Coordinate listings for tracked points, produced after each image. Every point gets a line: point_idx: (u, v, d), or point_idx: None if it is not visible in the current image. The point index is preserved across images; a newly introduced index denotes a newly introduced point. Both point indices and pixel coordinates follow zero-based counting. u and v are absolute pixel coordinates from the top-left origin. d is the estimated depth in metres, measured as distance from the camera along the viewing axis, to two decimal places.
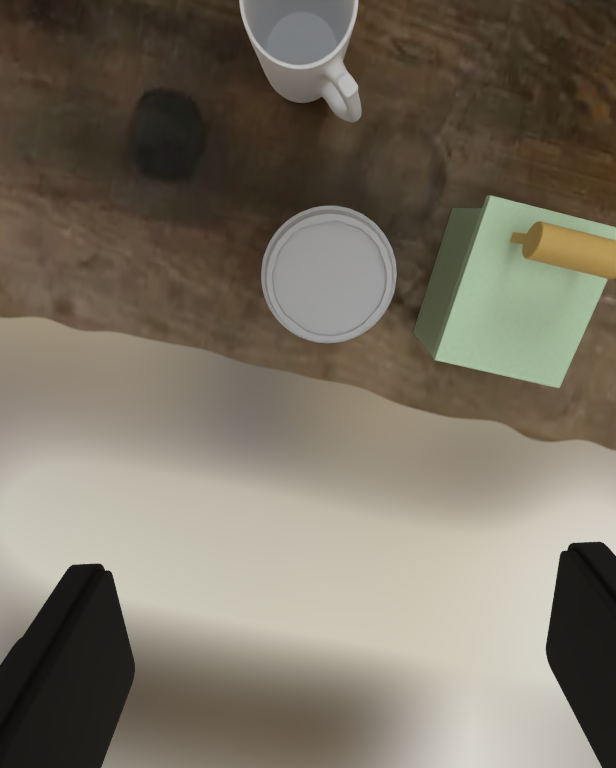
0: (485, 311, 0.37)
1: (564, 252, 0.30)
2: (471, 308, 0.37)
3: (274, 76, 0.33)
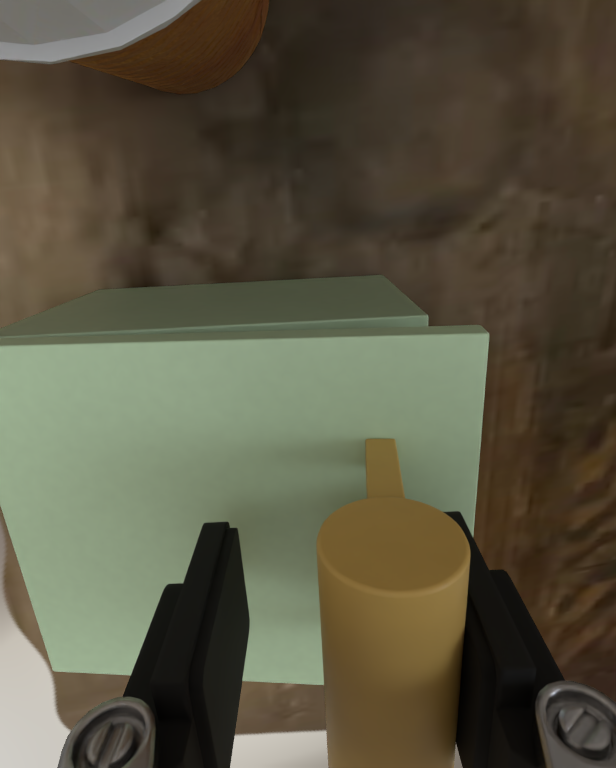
0: (152, 441, 0.12)
1: (375, 685, 0.07)
2: (141, 399, 0.11)
3: None
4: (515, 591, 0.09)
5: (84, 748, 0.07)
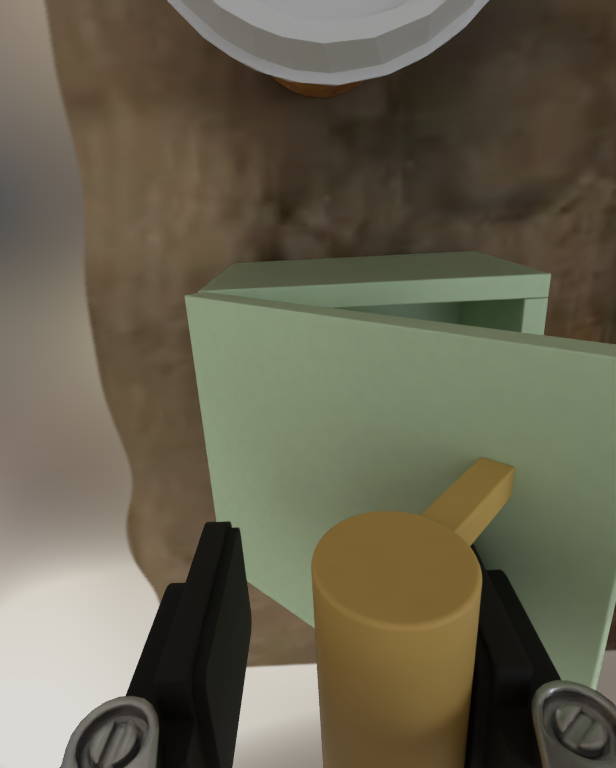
0: (294, 401, 0.13)
1: (331, 693, 0.07)
2: (290, 362, 0.13)
3: None
4: (512, 591, 0.09)
5: (87, 748, 0.07)
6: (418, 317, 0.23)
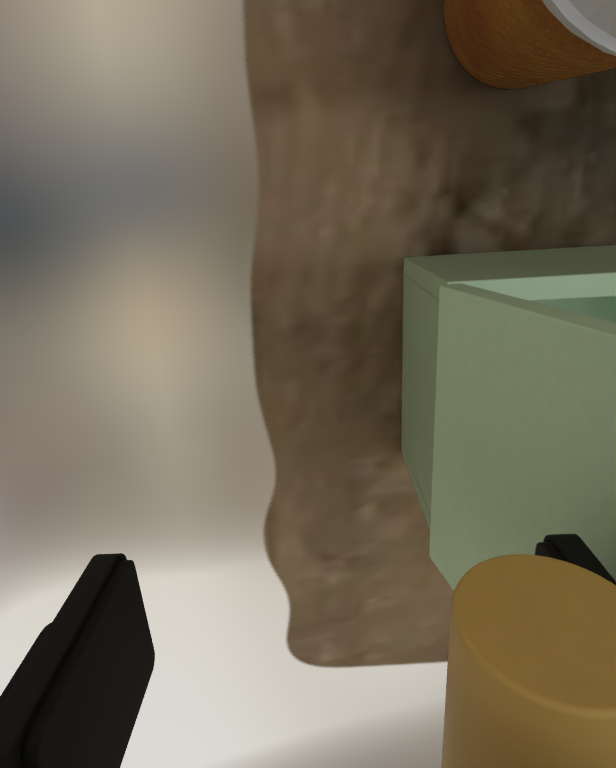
0: (526, 414, 0.12)
1: (449, 721, 0.07)
2: (529, 371, 0.12)
3: None
4: None
5: None
6: (589, 310, 0.23)
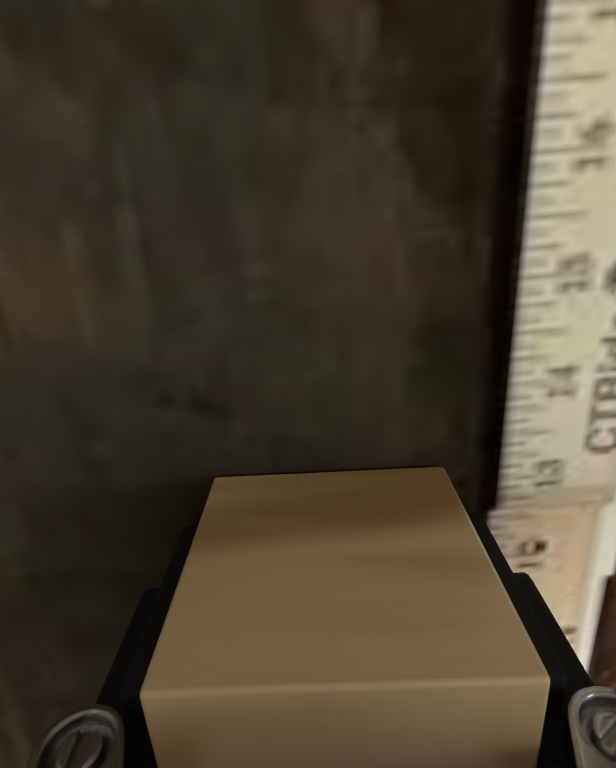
0: None
1: None
2: None
3: None
4: (538, 594, 0.09)
5: (52, 757, 0.07)
6: None
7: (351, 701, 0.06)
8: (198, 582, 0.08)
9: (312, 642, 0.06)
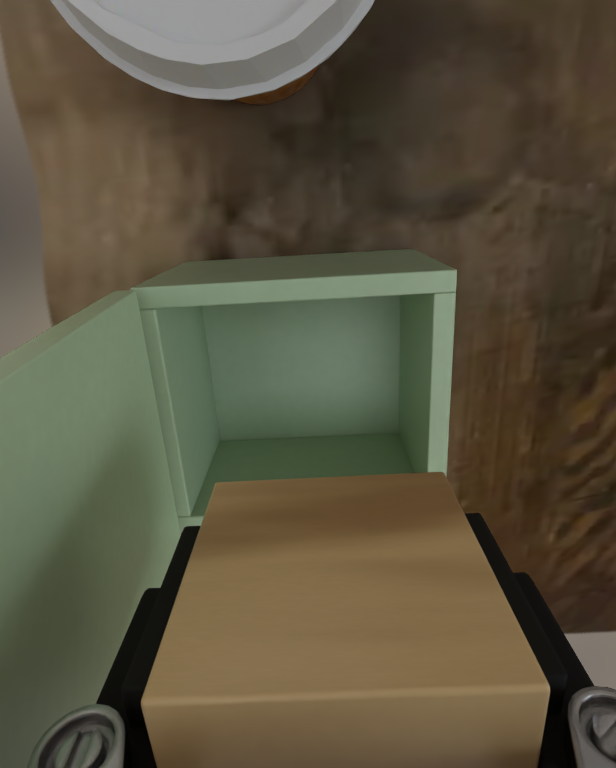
0: None
1: None
2: None
3: None
4: (538, 594, 0.09)
5: (52, 757, 0.07)
6: (360, 312, 0.24)
7: (351, 710, 0.06)
8: (199, 589, 0.08)
9: (313, 650, 0.06)
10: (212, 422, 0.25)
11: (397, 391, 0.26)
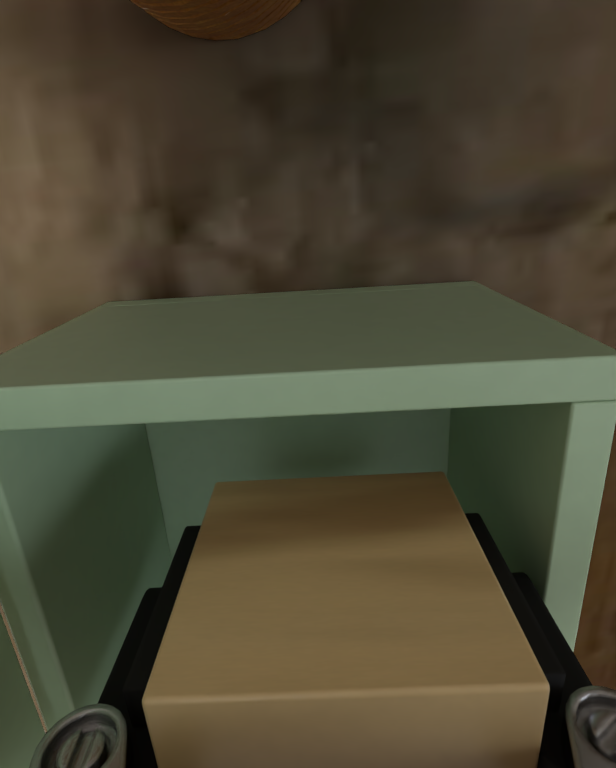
0: None
1: None
2: None
3: None
4: (536, 594, 0.09)
5: (54, 756, 0.07)
6: None
7: (352, 708, 0.06)
8: (199, 588, 0.08)
9: (313, 649, 0.06)
10: (156, 549, 0.16)
11: None
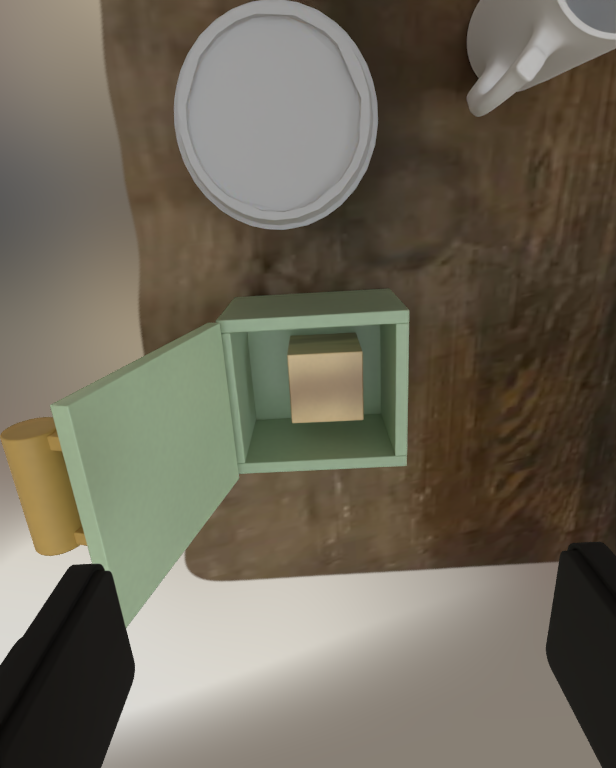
0: None
1: None
2: None
3: None
4: None
5: None
6: (353, 331, 0.36)
7: (326, 356, 0.32)
8: (293, 347, 0.33)
9: (319, 350, 0.32)
10: (252, 406, 0.37)
11: (379, 384, 0.38)
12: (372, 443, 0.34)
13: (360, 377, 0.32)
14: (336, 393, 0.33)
